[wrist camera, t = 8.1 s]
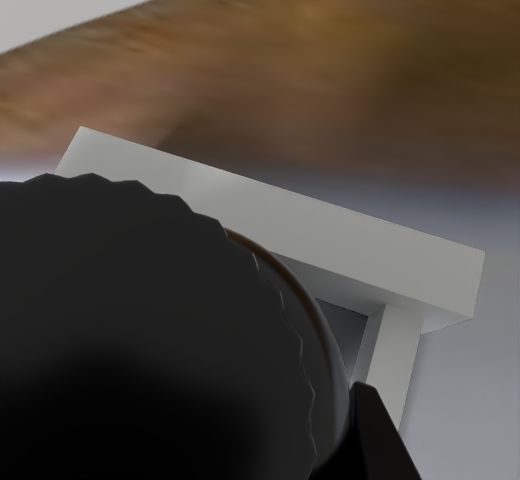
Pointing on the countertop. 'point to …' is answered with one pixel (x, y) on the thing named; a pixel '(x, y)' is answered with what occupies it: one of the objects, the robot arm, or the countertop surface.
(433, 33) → the countertop surface
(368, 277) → the white u-shaped frame
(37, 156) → the countertop surface
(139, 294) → the supplement bottle
